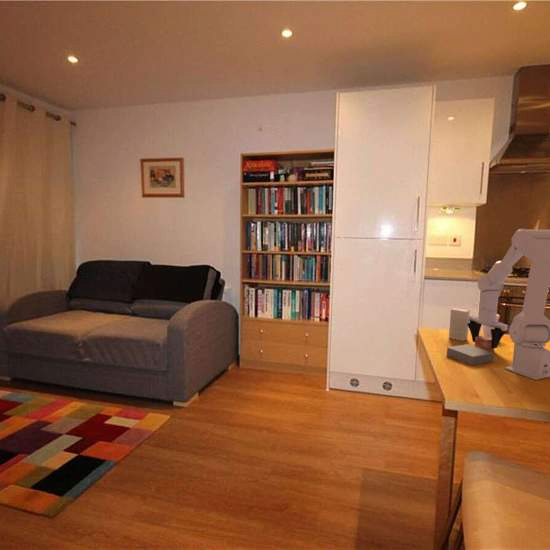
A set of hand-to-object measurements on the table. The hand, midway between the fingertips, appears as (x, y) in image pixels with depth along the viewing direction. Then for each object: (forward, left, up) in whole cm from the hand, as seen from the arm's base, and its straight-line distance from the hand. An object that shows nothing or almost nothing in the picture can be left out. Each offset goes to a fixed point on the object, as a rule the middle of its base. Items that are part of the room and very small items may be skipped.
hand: (484, 344), depth 137 cm
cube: (0, 0, -2) cm, 2 cm away
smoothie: (+10, -16, -2) cm, 19 cm away
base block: (-5, +14, -2) cm, 15 cm away
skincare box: (+13, -2, -2) cm, 13 cm away
